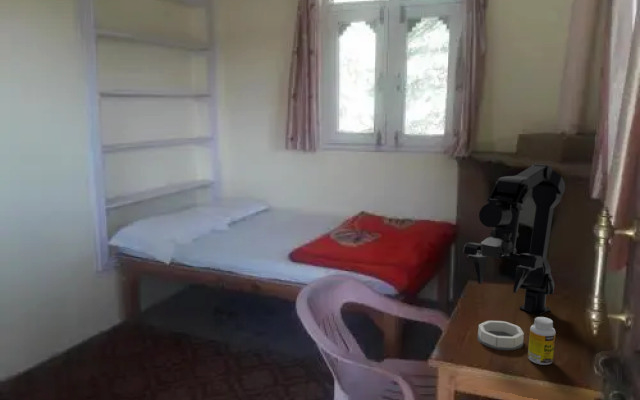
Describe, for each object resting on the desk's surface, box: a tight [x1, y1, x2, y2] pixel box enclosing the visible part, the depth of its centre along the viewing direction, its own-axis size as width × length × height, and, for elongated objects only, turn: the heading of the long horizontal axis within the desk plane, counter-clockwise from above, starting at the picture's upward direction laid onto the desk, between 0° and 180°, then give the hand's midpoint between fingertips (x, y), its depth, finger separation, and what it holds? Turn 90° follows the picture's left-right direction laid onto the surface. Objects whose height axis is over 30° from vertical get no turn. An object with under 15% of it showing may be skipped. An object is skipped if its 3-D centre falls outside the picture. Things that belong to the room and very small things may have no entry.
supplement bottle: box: [527, 316, 557, 366], centre depth 126 cm, size 6×6×10 cm
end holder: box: [477, 320, 525, 352], centre depth 137 cm, size 11×11×3 cm
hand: (496, 288), depth 135 cm, fingers open, 9 cm apart
